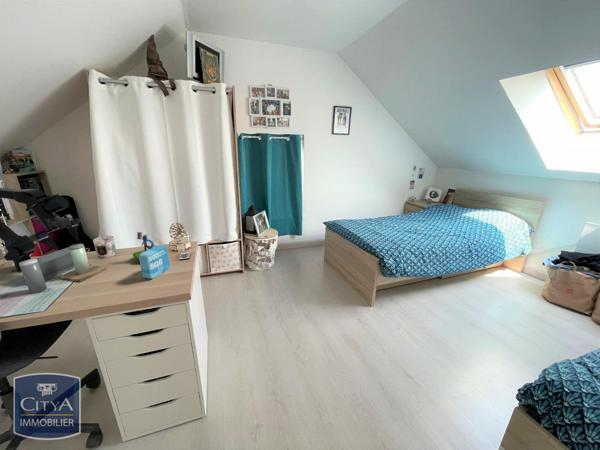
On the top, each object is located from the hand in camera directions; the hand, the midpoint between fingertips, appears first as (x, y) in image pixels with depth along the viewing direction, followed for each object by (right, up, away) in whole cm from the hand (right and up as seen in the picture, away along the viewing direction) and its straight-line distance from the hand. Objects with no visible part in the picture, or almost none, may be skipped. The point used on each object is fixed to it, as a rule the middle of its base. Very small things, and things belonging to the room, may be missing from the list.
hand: (68, 245), depth 117 cm
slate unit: (-4, -12, -1) cm, 13 cm away
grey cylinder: (+3, -17, -16) cm, 24 cm away
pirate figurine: (+30, -8, +13) cm, 34 cm away
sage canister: (+10, -12, -3) cm, 16 cm away
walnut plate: (+10, -13, -3) cm, 17 cm away
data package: (+43, -13, -1) cm, 45 cm away
